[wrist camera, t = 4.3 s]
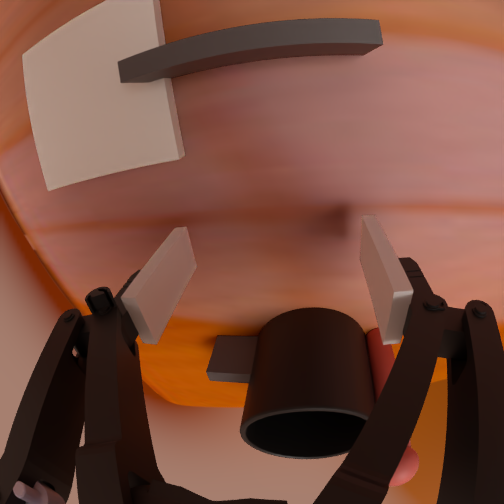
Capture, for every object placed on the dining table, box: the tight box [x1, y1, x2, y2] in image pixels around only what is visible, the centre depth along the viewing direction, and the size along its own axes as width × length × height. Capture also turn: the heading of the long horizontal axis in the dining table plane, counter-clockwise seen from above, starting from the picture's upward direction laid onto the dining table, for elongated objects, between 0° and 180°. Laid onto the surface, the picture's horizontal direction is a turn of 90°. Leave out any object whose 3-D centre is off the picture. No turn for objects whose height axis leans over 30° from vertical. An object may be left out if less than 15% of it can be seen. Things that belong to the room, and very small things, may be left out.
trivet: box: [22, 0, 185, 191], centre depth 15 cm, size 12×12×1 cm
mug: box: [240, 308, 376, 459], centre depth 21 cm, size 9×12×9 cm
